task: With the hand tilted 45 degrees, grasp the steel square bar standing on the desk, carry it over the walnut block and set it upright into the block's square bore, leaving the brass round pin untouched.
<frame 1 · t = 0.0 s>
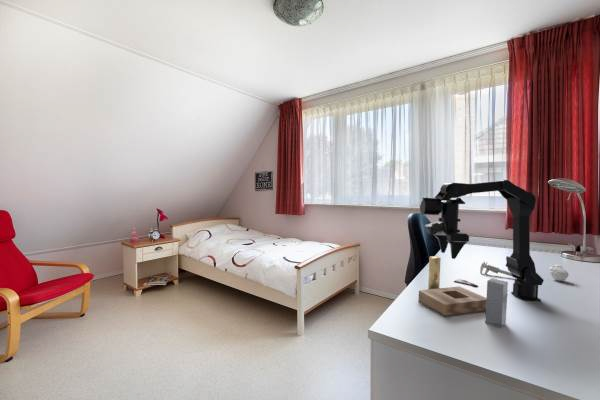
hand: (448, 255, 104), 15 cm above the table, tool pointing down, fingers open, 9 cm apart
square bit: (495, 323, 80), on the table
brass pin: (433, 289, 108), on the table
usb flash drive: (464, 285, 115), on the table
crumpled paper ball: (558, 281, 121), on the table
caliper: (506, 278, 124), on the table
bore block: (454, 305, 92), on the table
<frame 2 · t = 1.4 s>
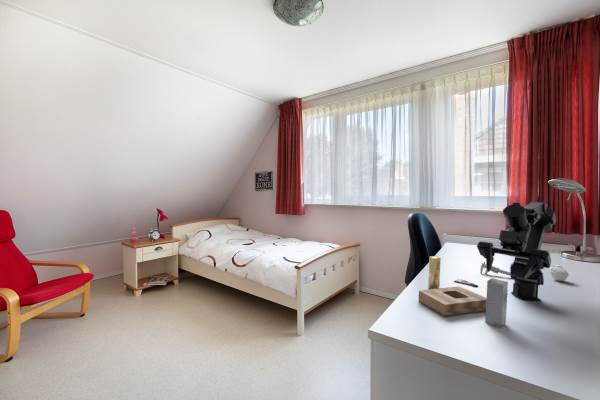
hand: (504, 274, 85), 13 cm above the table, tool tilted 45°, fingers open, 9 cm apart
nothing on the table moved.
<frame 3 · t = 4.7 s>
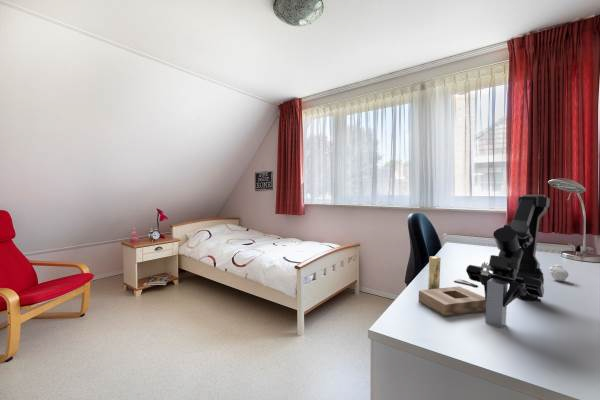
hand: (494, 303, 79), 7 cm above the table, tool tilted 45°, fingers closed on square bit, 4 cm apart
square bit: (495, 323, 80), on the table, touching gripper
everything else where it was.
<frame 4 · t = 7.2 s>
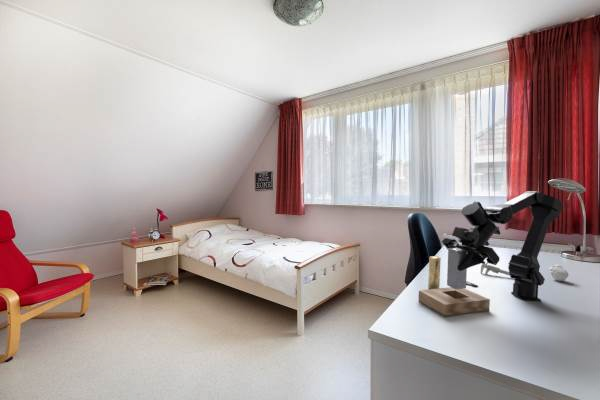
hand: (453, 268, 91), 13 cm above the table, tool tilted 45°, fingers closed on square bit, 4 cm apart
square bit: (456, 286, 92), point 7 cm above the table, touching gripper
everything else where it was.
when the fingers open (8 cm above the table, at t = 9.4 s): square bit stays where it is, resting on bore block.
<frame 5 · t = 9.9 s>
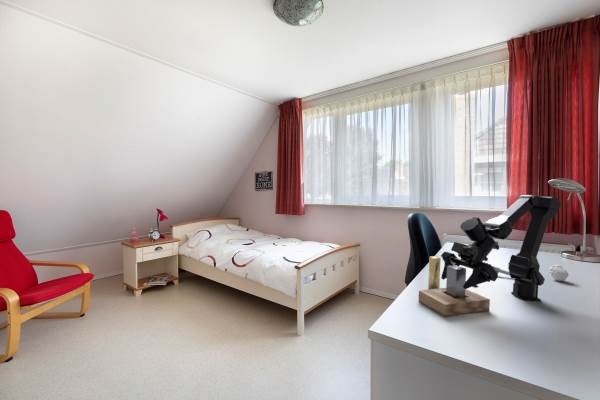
hand: (452, 283, 92), 8 cm above the table, tool tilted 45°, fingers open, 9 cm apart
square bit: (454, 304, 92), resting on bore block
everything else where it was.
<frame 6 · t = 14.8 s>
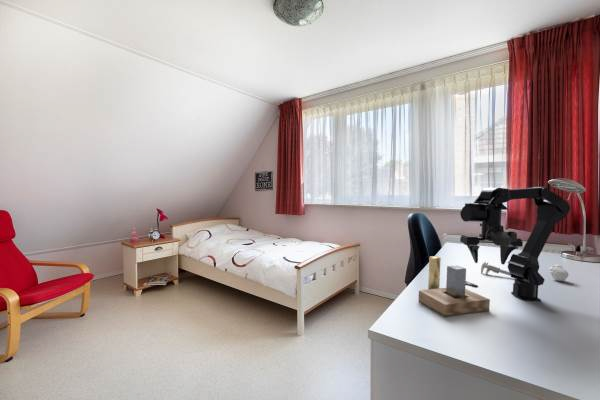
hand: (489, 263, 99), 13 cm above the table, tool pointing down, fingers open, 9 cm apart
nothing on the table moved.
at the end: square bit 0.0 cm off-centre on the bore block, point 0.5 cm above the bore block's base; square bit tilted 0°; brass pin moved 0.0 cm from its start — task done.
